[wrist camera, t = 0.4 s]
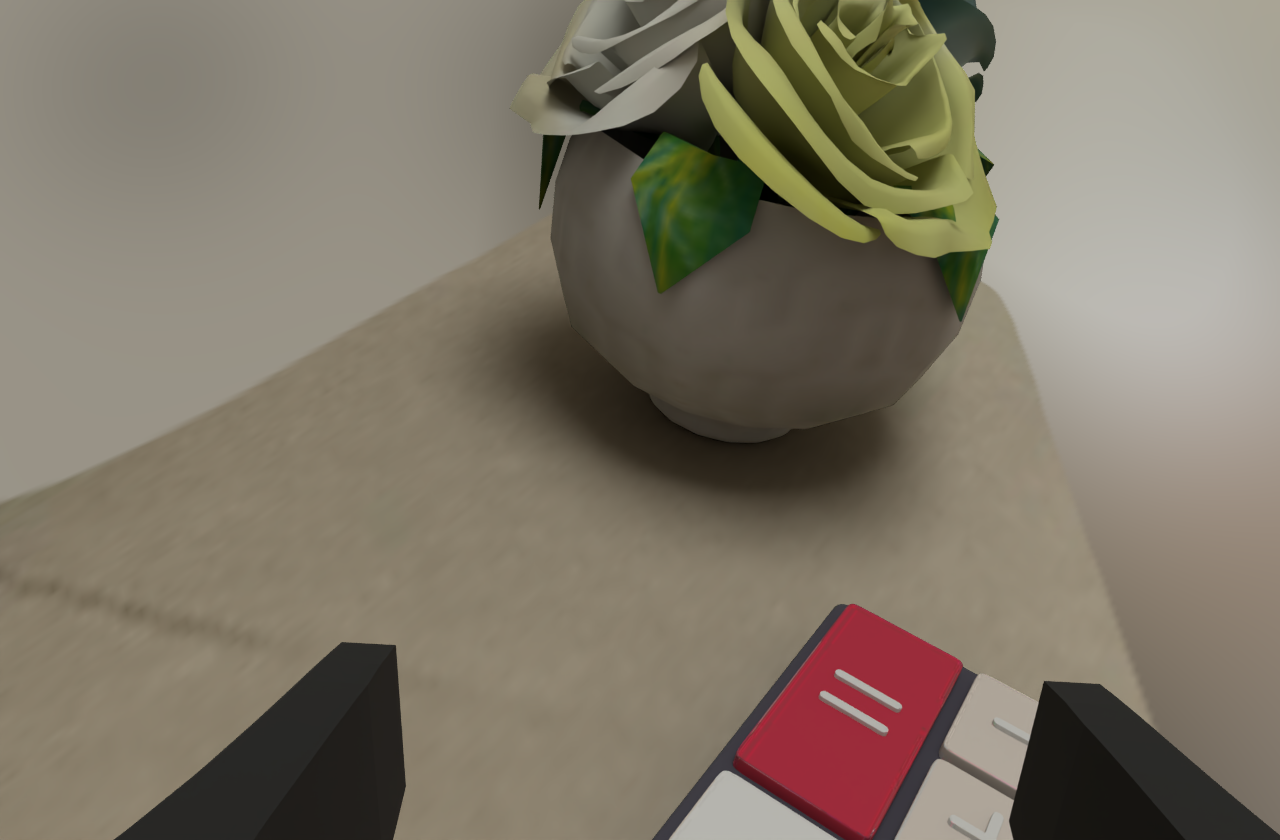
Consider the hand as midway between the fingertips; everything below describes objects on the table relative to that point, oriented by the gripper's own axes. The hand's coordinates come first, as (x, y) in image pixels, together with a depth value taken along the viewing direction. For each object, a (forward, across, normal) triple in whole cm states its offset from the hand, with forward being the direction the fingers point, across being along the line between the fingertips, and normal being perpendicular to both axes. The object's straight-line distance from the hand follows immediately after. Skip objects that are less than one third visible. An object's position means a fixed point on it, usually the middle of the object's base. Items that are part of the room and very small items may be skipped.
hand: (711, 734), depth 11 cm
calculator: (+16, -7, +19) cm, 26 cm away
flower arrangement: (+42, -3, +14) cm, 45 cm away
